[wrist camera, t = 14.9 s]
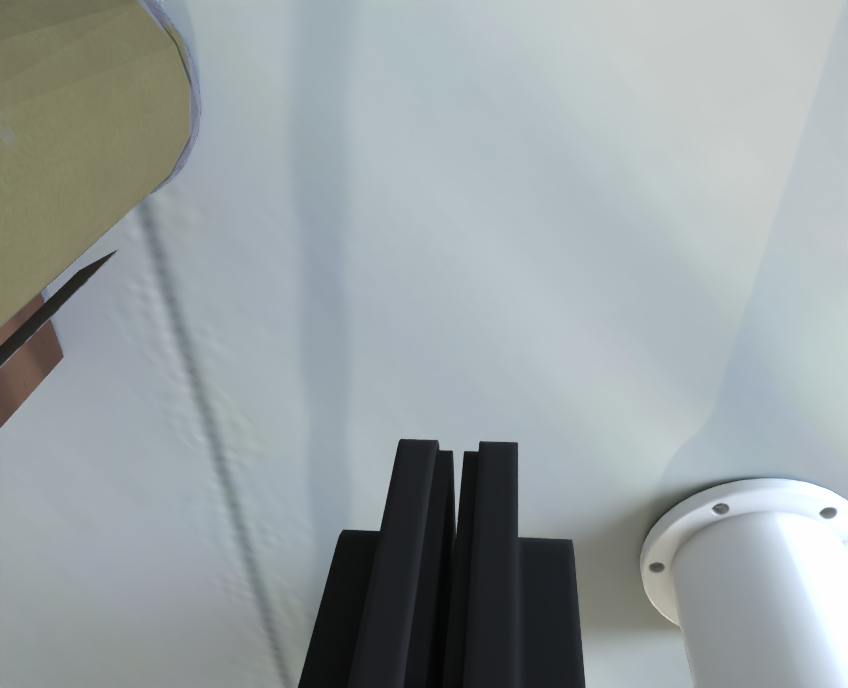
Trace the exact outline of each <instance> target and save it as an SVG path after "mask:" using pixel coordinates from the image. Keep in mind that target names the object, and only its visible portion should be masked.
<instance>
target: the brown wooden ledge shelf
mask: <svg viewBox="0 0 848 688" xmlns="http://www.w3.org/2000/svg"><path fill="white" fill-rule="evenodd" d="M44 304H45V303H44V301H43V298H42V295H41V292H40V293H39V294H38V295H37V296H36V297H34V298H33V299H32V300H31V301H30V302H29V303H28V304H27V305H26V306H25V307H23V308H22V309H21V310H20V311H19V312H18V313H17V314H16V315H15V316H14V317H12V318H11V319H10V320H9V321H8V322H7V323H6V324H5V325H4V326H2V327H1V328H0V346H1V345H2V344H3V343H4V342H5V341H6V340H7V339H8V338H9V337H10V336H11V335H12V334H13V333H14V332H15V331H16V330H17V329H18V328H19V327H21V326H22V325H23V324H24V323H25V322H26V321H27V320H28V319H29V318H30V317H31V316H32V315H33V314H34V313H35V312H36V311H37V310H38V309H39V308H40V307H42V306H43V305H44ZM62 358H63V354H62V351H61V348H60V345H59V343H58V340H57V337H56V334H55V331H54V329H53V326H52V323H51V320H50V319H49V320H48V321H47V322H46V323H45V324H44V325H43V326H42V327H41V328H40V329H39V330H38V331H37V332H36V333H35V334H34V335H33V336H32V337H31V338H30V339H29V340H28V341H27V342H26V343H25V344H24V345H23V346H22V347H21V348H20V349H19V350H18V351H17V352H16V353H15V354H14V355H13V356H12V357H11V358H10V359H9V360H8V361H7V362H6V363H5V364H4V365H2V366H1V367H0V428H1V427H2V426H3V425H4V423H5V422H6V421H7V420H8V419H9V418H10V417H11V416H12V414H13V413H14V412H15V411H16V410H17V409H18V408H19V407H20V405H21V404H22V403H23V402H24V401H25V400H26V399H27V398H28V397H29V395H30V394H31V393H32V392H33V391H34V390H35V389H36V388H37V386H38V385H39V384H40V383H41V382H42V381H43V380H44V379H45V377H46V376H47V375H48V374H49V373H50V372H51V371H52V370H53V368H54V367H55V366H56V365H57V364H58V363H59V362H60V361H61V359H62Z"/></svg>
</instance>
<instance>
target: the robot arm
mask: <svg viewBox="0 0 848 688" xmlns="http://www.w3.org/2000/svg"><path fill="white" fill-rule="evenodd" d="M640 572H641V577H642V581H643V586H644V590H645V592H646V594H647V596H648V598H649V600H650V602H651V603H652V604H653V605H654V606H655V608H656V609H657V610H658V611H659V612H660V613H661V614H662V615H663V616H665V617H666V618H667V619H669V620H670V621H671V622H673V623H674V624H676V625H678V626H680V628H681V633H682V637H683V642H684V646H685V651H686V655H687V660H688V664H689V668H690V673H691V677H692V682H693V686H694V688H848V501H846V500H845V499H844V498H842V497H840V496H839V495H837V494H835V493H833V492H832V491H830V490H828V489H825V488H822V487H819V486H816V485H813V484H811V483H807V482H801V481H796V480H790V479H774V478H759V479H750V480H740V481H735V482H731V483H727V484H723V485H718V486H715V487H713V488H710V489H707V490H705V491H702V492H700V493H697V494H695V495H693V496H691V497H689V498H688V499H686V500H684V501H682V502H681V503H679V504H677V505H676V506H675V507H673V508H672V509H671V510H670V511H668V512H667V513H666V514H665V515H663V516H662V517H661V518H660V520H659V521H658V522H657V523H656V524H655V525H654V527H653V528H652V529H651V530H650V532H649V534H648V536H647V538H646V540H645V542H644V543H643V547H642V551H641V555H640ZM298 688H585V676H584V664H583V652H582V640H581V629H580V617H579V605H578V593H577V581H576V569H575V557H574V548H573V542H572V540H568V539H545V538H522V537H518V443H516V442H483V441H480V443H479V452H474V451H464V458H463V469H462V479H461V490H460V501H459V512H458V523H457V534H456V523H455V493H454V464H453V451H443V450H439V442H438V440H416V439H400V441H399V443H398V447H397V452H396V457H395V462H394V466H393V471H392V476H391V481H390V486H389V490H388V495H387V500H386V505H385V509H384V514H383V519H382V524H381V529H380V531H363V530H343V531H342V532H341V534H340V536H339V539H338V541H337V545H336V548H335V552H334V556H333V559H332V563H331V567H330V570H329V574H328V578H327V582H326V585H325V589H324V593H323V596H322V600H321V604H320V607H319V611H318V615H317V619H316V622H315V626H314V630H313V633H312V637H311V641H310V644H309V648H308V652H307V656H306V659H305V663H304V667H303V670H302V674H301V678H300V682H299V685H298Z"/></svg>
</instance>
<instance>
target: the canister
mask: <svg viewBox="0 0 848 688" xmlns="http://www.w3.org/2000/svg"><path fill="white" fill-rule="evenodd" d="M200 114H201V105H200V92H199V88H198V84H197V80H196V75H195V71H194V67H193V64H192V61H191V58H190V55H189V52H188V49H187V46H186V44H185V43H184V41H183V40H182V38H181V37H180V35H179V34H178V32H177V31H176V30H175V28H174V27H173V25H172V24H171V22H170V21H169V19H168V18H167V17H166V15H165V14H164V12H163V11H162V9H161V8H160V7H159V6H158V4H157V3H156V2H155V1H154V0H0V328H1V327H2V326H4V325H5V324H6V323H7V322H8V321H9V320H10V319H11V318H12V317H14V316H15V315H16V314H17V313H18V312H19V311H20V310H21V309H22V308H23V307H25V306H26V305H27V304H28V303H29V302H30V301H31V300H32V299H33V298H34V297H36V296H37V295H38V294H39V293H40V292H41V291H42V290H43V289H44V288H45V287H47V286H48V285H49V284H50V283H51V282H52V281H53V280H54V279H55V278H56V277H58V276H59V275H60V274H61V273H62V272H63V271H64V270H65V269H66V268H67V267H69V266H70V265H71V264H72V263H73V262H74V261H75V260H76V259H77V258H78V257H80V256H81V255H82V254H83V253H84V252H85V251H86V250H87V249H88V248H89V247H91V246H92V245H93V244H94V243H95V242H96V241H97V240H98V239H99V238H100V237H102V236H103V235H104V234H105V233H106V232H107V231H108V230H109V229H110V228H111V227H113V226H114V225H115V224H116V223H117V222H118V221H119V220H120V219H121V218H122V217H124V216H125V215H126V214H127V213H128V212H129V211H130V210H131V209H132V208H133V207H135V206H136V205H137V204H138V203H139V202H140V201H141V200H142V199H143V198H144V197H146V196H147V195H148V194H150V193H153V192H156V191H157V190H158V189H160V188H161V187H163V186H164V185H165V184H167V183H168V182H170V181H171V180H172V179H173V178H174V177H175V176H176V175H177V174H178V173H179V171H180V170H181V169H182V167H183V166H184V165H185V163H186V161H187V159H188V157H189V155H190V153H191V150H192V148H193V146H194V143H195V141H196V139H197V136H198V130H199V122H200ZM117 251H118V250H116V251H114V252H112V253H111V254H109V255H107V256H105V257H103V258H101V259H100V260H98V261H96V262H94V263H92V264H90V265H88V266H87V267H85V268H83V269H81V270H79V271H78V272H77V273H76V274H75V275H74V276H73V277H72V278H71V279H70V280H69V281H68V282H67V283H66V284H65V285H64V286H63V287H61V288H60V289H59V290H58V291H57V292H56V293H55V294H54V295H53V296H52V297H51V298H50V299H49V300H48V301H47V302H46V303H45V304H44V305H43V306H42V307H40V308H39V309H38V310H37V311H36V312H35V313H34V314H33V315H32V316H31V317H30V318H29V319H28V320H27V321H26V322H25V323H24V324H23V325H22V326H21V327H19V328H18V329H17V330H16V331H15V332H14V333H13V334H12V335H11V336H10V337H9V338H8V339H7V340H6V341H5V342H4V343H3V344H2V345H1V346H0V367H1V366H2V365H4V364H5V363H6V362H7V361H8V360H9V359H10V358H11V357H12V356H13V355H14V354H15V353H16V352H17V351H18V350H19V349H20V348H21V347H22V346H23V345H24V344H25V343H26V342H27V341H28V340H29V339H30V338H31V337H32V336H33V335H34V334H35V333H36V332H37V331H38V330H39V329H40V328H41V327H42V326H43V325H44V324H45V323H46V322H47V321H48V320H49V319H50V318H51V317H52V316H53V315H54V314H55V313H56V312H57V311H58V310H59V309H60V308H61V307H62V306H63V305H64V304H65V303H66V302H67V301H68V300H69V299H70V298H71V297H72V296H73V295H74V294H75V293H76V292H77V291H78V290H79V289H80V288H81V287H82V286H83V285H84V284H85V283H86V282H87V281H88V280H89V279H90V278H91V277H92V276H93V275H94V274H95V273H96V272H97V271H98V270H99V269H100V268H101V267H102V266H103V265H104V264H105V263H106V262H107V261H108V260H109V259H110V258H111V257H112V256H113V255H114V254H115V253H116V252H117Z"/></svg>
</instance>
